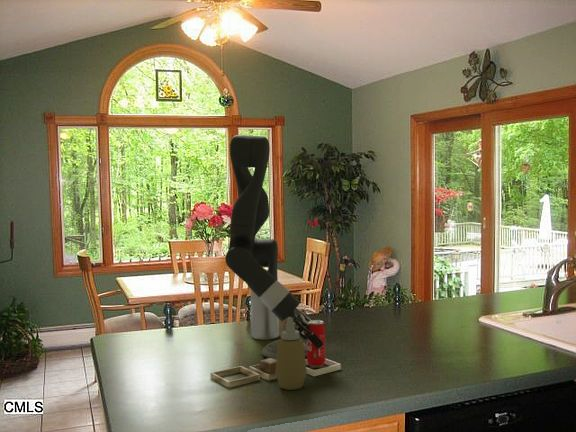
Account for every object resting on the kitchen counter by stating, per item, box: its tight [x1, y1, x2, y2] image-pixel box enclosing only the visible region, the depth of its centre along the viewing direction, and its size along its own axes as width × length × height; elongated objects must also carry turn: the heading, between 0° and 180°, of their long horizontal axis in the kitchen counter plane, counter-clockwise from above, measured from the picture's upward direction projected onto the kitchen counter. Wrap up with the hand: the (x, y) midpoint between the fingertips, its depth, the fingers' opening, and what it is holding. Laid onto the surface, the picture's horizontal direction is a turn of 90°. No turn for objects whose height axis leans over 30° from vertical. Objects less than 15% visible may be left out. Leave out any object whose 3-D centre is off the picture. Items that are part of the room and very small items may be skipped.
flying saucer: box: [261, 338, 307, 359], centre depth 183 cm, size 15×15×6 cm
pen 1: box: [210, 365, 261, 389], centre depth 162 cm, size 10×10×2 cm
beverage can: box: [306, 319, 326, 367], centre depth 169 cm, size 5×5×12 cm
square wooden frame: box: [248, 363, 278, 382], centre depth 167 cm, size 10×10×2 cm
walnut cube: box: [259, 357, 277, 374], centre depth 165 cm, size 4×4×4 cm
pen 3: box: [305, 357, 342, 377], centre depth 169 cm, size 10×10×2 cm
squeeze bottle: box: [276, 317, 307, 391], centre depth 155 cm, size 8×8×18 cm
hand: (322, 343), depth 169 cm, fingers closed on beverage can, 5 cm apart
